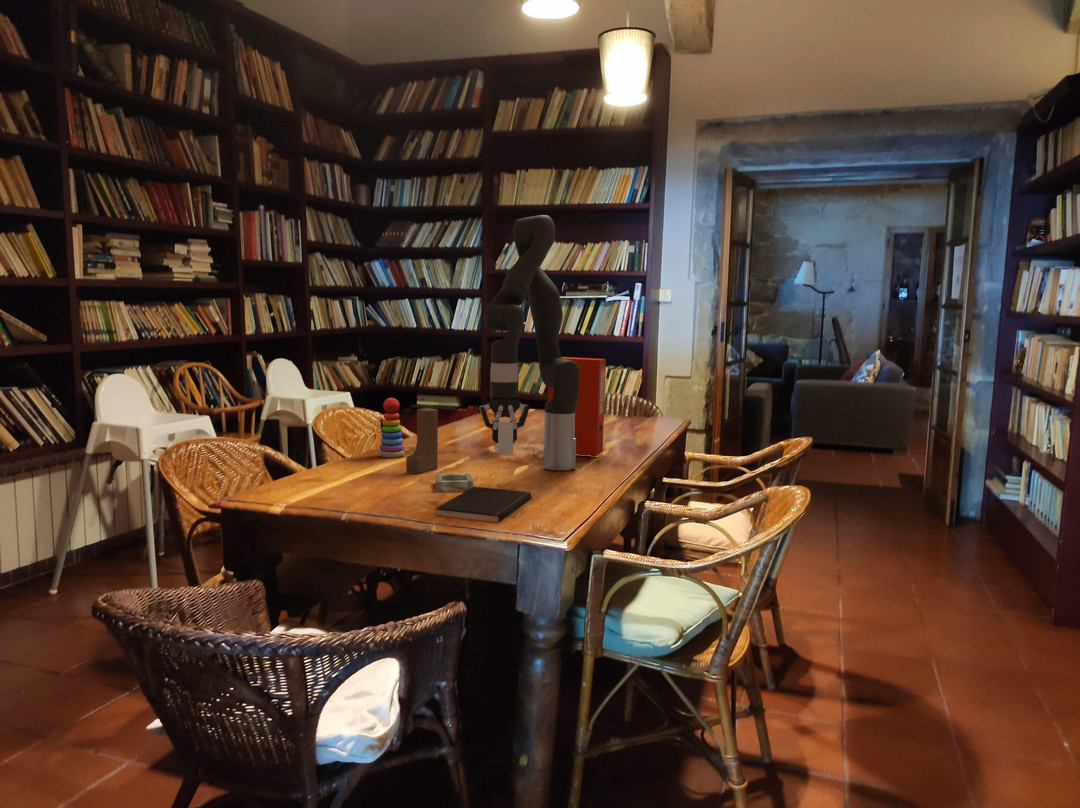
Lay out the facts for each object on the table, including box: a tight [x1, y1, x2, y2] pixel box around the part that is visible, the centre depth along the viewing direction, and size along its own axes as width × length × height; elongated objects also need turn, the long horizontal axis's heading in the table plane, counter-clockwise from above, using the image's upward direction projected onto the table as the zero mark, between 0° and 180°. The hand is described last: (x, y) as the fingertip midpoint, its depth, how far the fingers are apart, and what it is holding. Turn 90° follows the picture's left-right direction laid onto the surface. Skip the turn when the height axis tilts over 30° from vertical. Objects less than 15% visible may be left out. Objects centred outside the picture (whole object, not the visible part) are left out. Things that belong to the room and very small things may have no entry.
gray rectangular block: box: [495, 419, 514, 455], centre depth 206 cm, size 4×4×8 cm
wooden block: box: [405, 407, 439, 474], centre depth 223 cm, size 9×4×18 cm, turn 146°
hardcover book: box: [434, 486, 533, 524], centre depth 186 cm, size 16×23×2 cm
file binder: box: [547, 356, 607, 456], centre depth 253 cm, size 8×17×32 cm, turn 70°
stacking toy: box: [378, 397, 405, 459], centre depth 243 cm, size 8×8×19 cm
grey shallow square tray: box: [435, 473, 474, 492], centre depth 205 cm, size 10×10×2 cm
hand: (504, 442), depth 206 cm, fingers closed on gray rectangular block, 4 cm apart
